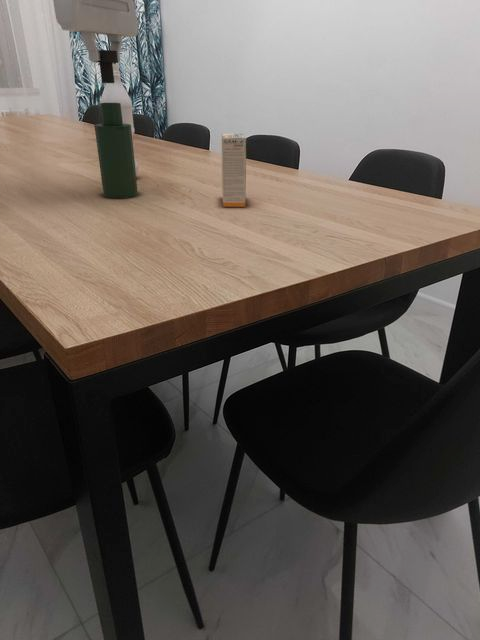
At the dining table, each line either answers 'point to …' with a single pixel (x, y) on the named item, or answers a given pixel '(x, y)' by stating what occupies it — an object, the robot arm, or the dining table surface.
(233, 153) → the supplement box
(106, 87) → the water bottle
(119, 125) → the glass bottle
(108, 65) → the stopper
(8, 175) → the dining table surface
